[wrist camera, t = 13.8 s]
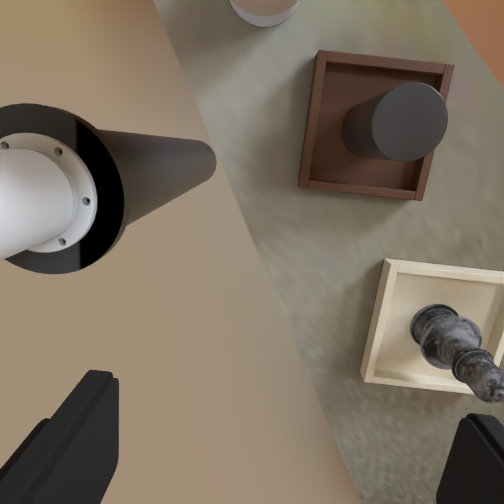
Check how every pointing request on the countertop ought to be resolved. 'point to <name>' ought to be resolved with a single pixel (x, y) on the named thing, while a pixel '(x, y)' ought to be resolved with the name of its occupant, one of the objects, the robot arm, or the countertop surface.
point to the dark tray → (335, 110)
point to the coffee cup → (265, 11)
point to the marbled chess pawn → (458, 350)
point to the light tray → (414, 299)
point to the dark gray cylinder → (397, 124)
